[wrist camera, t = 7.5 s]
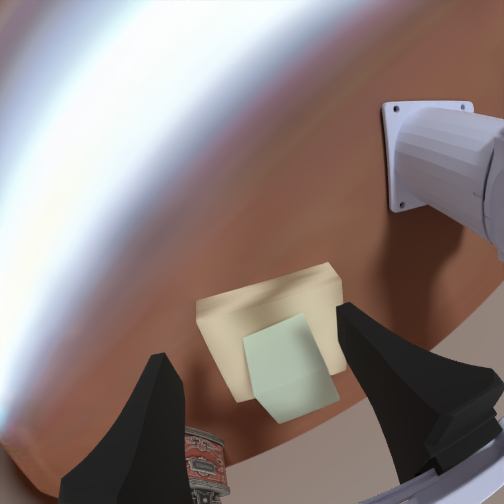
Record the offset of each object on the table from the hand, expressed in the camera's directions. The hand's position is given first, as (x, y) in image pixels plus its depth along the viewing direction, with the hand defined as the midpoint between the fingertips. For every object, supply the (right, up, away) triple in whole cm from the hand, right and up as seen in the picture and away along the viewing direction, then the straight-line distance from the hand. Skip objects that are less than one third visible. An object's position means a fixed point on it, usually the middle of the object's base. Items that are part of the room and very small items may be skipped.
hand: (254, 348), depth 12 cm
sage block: (+2, -3, +10) cm, 10 cm away
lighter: (-7, -17, +18) cm, 26 cm away
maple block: (+2, -2, +13) cm, 13 cm away
